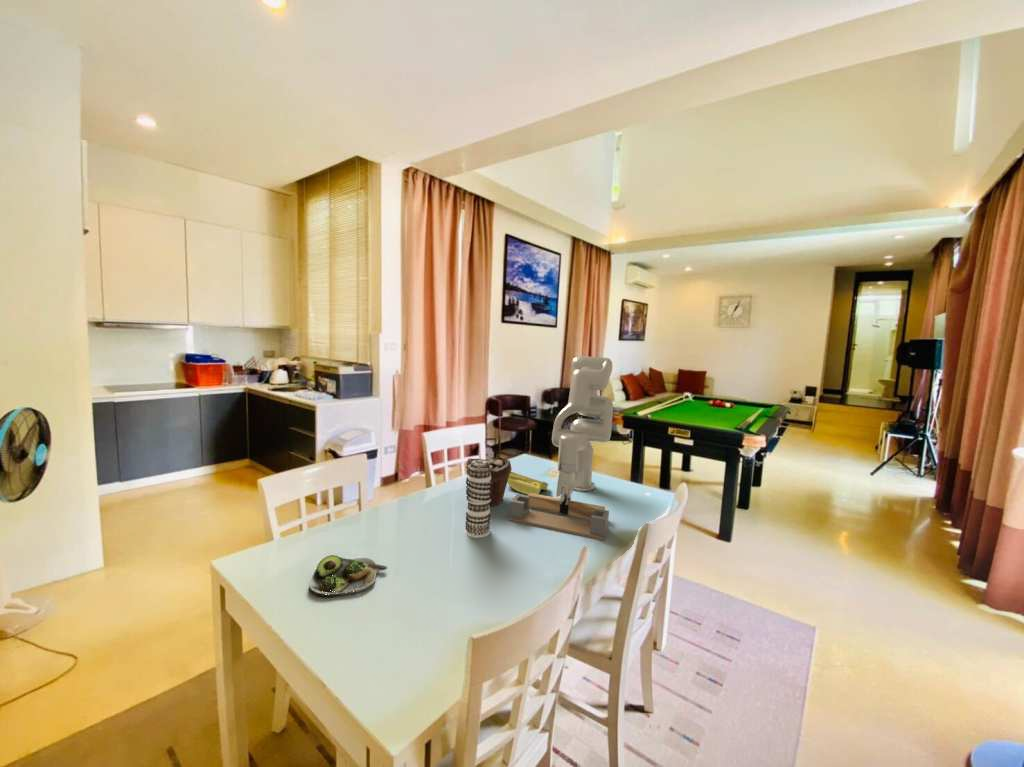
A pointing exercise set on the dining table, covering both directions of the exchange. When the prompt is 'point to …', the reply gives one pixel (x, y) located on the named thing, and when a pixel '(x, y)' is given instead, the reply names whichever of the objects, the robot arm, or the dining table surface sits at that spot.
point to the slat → (554, 506)
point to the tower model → (478, 499)
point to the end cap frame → (559, 519)
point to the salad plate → (343, 575)
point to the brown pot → (496, 477)
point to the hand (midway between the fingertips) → (564, 511)
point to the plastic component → (526, 484)
